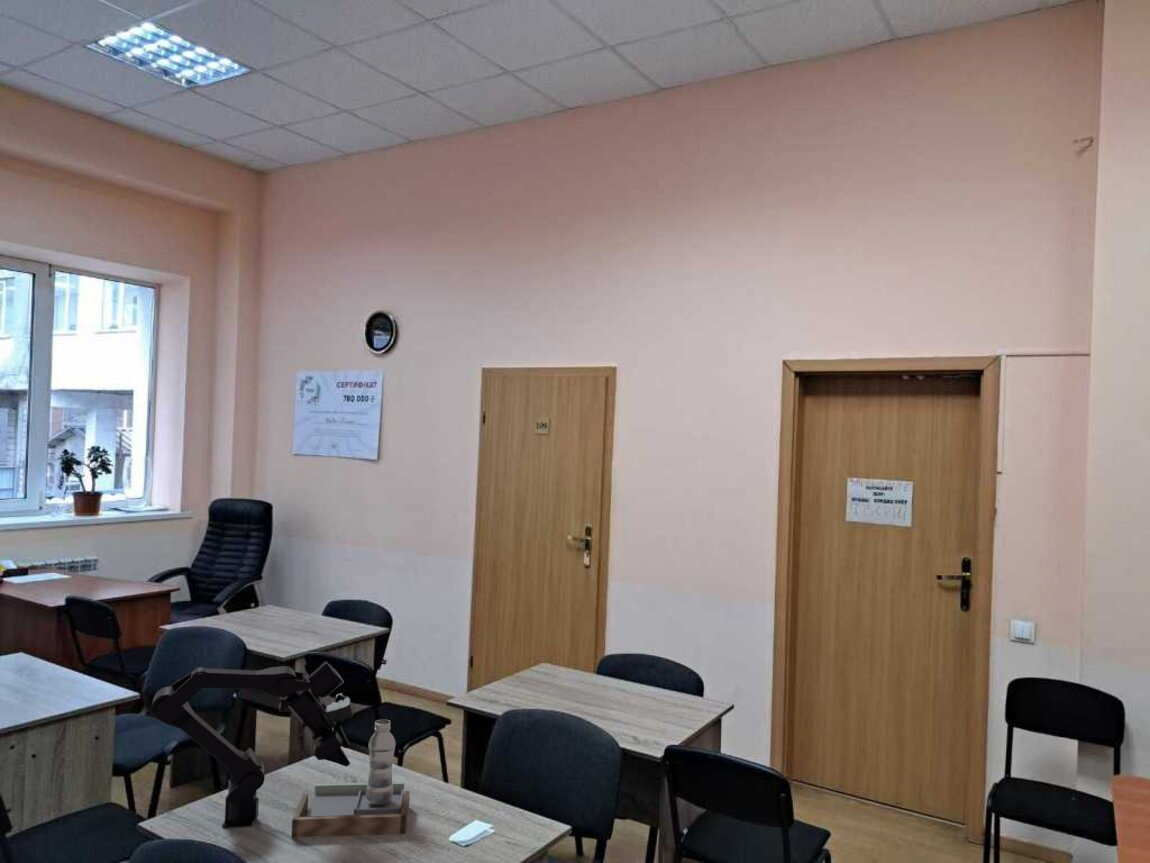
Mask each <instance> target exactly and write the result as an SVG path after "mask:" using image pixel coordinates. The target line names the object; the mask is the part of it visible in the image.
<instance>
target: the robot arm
mask: <svg viewBox="0 0 1150 863" xmlns="http://www.w3.org/2000/svg"><path fill="white" fill-rule="evenodd" d="M344 683H345V681H344V679H343V678H342V677H341V674H340V673H339V672H338V671H337V670H336V669H335V667H332V665H331V664H329V663H328V661H323V663H322V664H321V665H320V666H319V667H318V668H316V669H314V671H313V672H312V673H310V674H309V673H307V672H302V671H295V670H294V669H293V668H292V667H290V666H288V665H284V666H283V665H282V666H272V667H268V668H264V669H260V670H259V669H258V670H251V669H250V670H249V669H248V670H247V669H228V668H226V669H225V668H212V667H211V668H208V667H205V666H204V667H203V666H201V667H200V666H199V667H196V668H195V669H193V671H191V672H189V673H188V674H187V675H184V677H182V678H180V679H179V680H177V681H175V682H173V684H172V685H170V686H165V687H162V688H160V689H159V690H158V691H157V692H156V693H155V695H154V697H153V699H152V704H151V711H150V712H151V715H152V716H153V717H154V719H156V720H158V721H160V722H161V723H163V724H165V725H167V726H169V727H173V728H175V729H179V730H180V731H182V732H183V733H184V734H186V735H187V736H188V737H189V738H190V739H191V740H192V741H194V742H195V743H196V744H198V745H199V746H200V747H201V748H202V749H203V750H205V751H206V752H207V753H208V754H210V756H212V757H213V758H214V759H215V760H217V761H218V762H219V763H220V764H221V765H222V766H224V767H225V768H226V771H227V773H229V775H230V778H229V779H228V781H227V782H228V786H227V788H228V790H227V795H226V797H225V807H224V808H225V810H224V821H223V823H222V826H221V827H222V828H233V827H235V828H236V827H237V828H239V827H241V828H242V827H252V825H253V824H254V822H255V821H256V819H257V817H258V816H259V807H260V806H259V805H260V804H259V803H260V800H259V799H260V798H259V797H258V796H257V795H258V793H257V791H258V790H259V789H260V788H261V787H262V786H263V785H264V784H265V783H264V782H265V766H264V763H263V760H262V759H263V758H262V756H260V755H258V754H256V753H255V751H254V750H253V748H251V747H249V748H247V750H246V751H242V750H239V749H238V748H237V747H236V746H235V745H233V744H232V743H231V742H229V741H228V740H227V739H226V738H225V737H224V736H222V735H221V734H220V733H219V732H218V731H216V729H214V728H213V727H212V726H211V725H210V724H208V723H207V722H206V721H205V720H204V719H203V718H201V717H200V716H199V715H198V714H197V713H195V711H194V710H193V708H192V707H191V705H190V704H189V701H190V700H191V699H192V698H193V697H194V696H195V695H196V694H197V693H198V692H199V691H201V690H202V689H220V690H221V689H227V690H228V689H229V690H245V691H247V690H249V691H251V690H252V691H257V692H261V693H264V694H266V695H270V696H276V697H278V698H279V705H278V707H279V708H278V709H279V712H281V713H282V712H283V711H285V710H286V709H287V708H289V709H290V710H291V711H292V712H293V714H294V715H295V716H296V717H297V718H298V719H299V721H300V722H301V725H300V726H301V727H302V728H303V729H305V728H306V729H307V730H308V731H309V732H310V733H311V738H312V740H314V741H316V740H317V739H318V738H319V739H318V740H317V741H316V742H314V747H313V748H314V749H313V756H314V757H315V758H316V759H317V761H323V760H324V761H327V762H328V761H329V762H332V763H335V764H337V765H338V764H339V765H341V766H344V767H348V766H350V765H351V761H350V760H349V758H348V756H347V755H346V753H345V752H344V750H343V748H345V749H346V750H347V749H348V748H349V747H350V746H351V745H350V742H349V740H348V738H347V737H346V734H345V733H344V730H343V727H342V726H341V725H342V721H343V720H346V719H350V718H352V717H353V716H354V708H353V704H352V701H351V698H350V697H349V696H346V695H345V694H343V693H342V692H341V693H338V694H336V695H335V698H334V701H332V702H331V704H328V705H327V704H326V703H325V702H323V701H319V700H318V699H317V698H321V699H322V698H327V697H328V696H329V695H330V694H332V693H333V692H334V691H335V690H336V689H337V688H339V686H342V684H344ZM310 690H311V691H312V692H311V691H310ZM316 697H317V698H316ZM342 747H343V748H342Z"/></svg>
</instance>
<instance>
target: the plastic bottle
mask: <svg viewBox="0 0 1150 863" xmlns="http://www.w3.org/2000/svg"><path fill="white" fill-rule="evenodd" d="M391 728H392V727H391V720H388V719H377V720H375V722H374V733H373V734H372V736H371V737H370V739H369V741H368V755H369V773H368V780H367V783H368V785H367V789H366V799H367V801H368V803H369V804H372V805H385V804H387V803H389V802H390V800H391V799H392V796H393V784H392V782H393V763H394V762H393V761H394V756H395V755H394V754H395V750H396V749H395V748H396V739H395V737H394V735H393V734H392V733H391V732H390V730H391Z"/></svg>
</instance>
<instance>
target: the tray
mask: <svg viewBox="0 0 1150 863" xmlns="http://www.w3.org/2000/svg"><path fill="white" fill-rule="evenodd" d="M392 784H393V796H392V799H391V800H390V802H389V803H387V804H385V805H372V804H369V803H368V801H367V799H366V789H367V785H368V782H353V783H352V782H350V783H349V782H347V783H343V782H342V783H340V782H339V783H315V784H314V794H313V797H312V799H311V803H310V805H309V806H308V810H307V813H306V815H305V817H319V816H353V815H386V814H401V812H402V805H403V798H404V791H405V781H396V782H395V781H392Z"/></svg>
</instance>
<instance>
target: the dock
mask: <svg viewBox="0 0 1150 863" xmlns="http://www.w3.org/2000/svg"><path fill="white" fill-rule="evenodd" d="M409 806H410V791H409V790H404V795H403V802H402V809H401V814H386V815H353V816H319V817H306V815H307V812H308V810H309V793H302V796H301V798H300V801H299V803H298V805H297V808H296V810H295V813H294V815H293V817H292V819H291V838H311V837H313V836H319V837H342V836H346V837H347V836H348V837H349V836H369V835H370V836H374V835H375V836H376V835H377V836H378V835H403V834H404V835H405V834H406V832H407V824H408V816H409V810H408V809H409V808H410V807H409ZM309 836H310V837H309Z"/></svg>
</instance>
